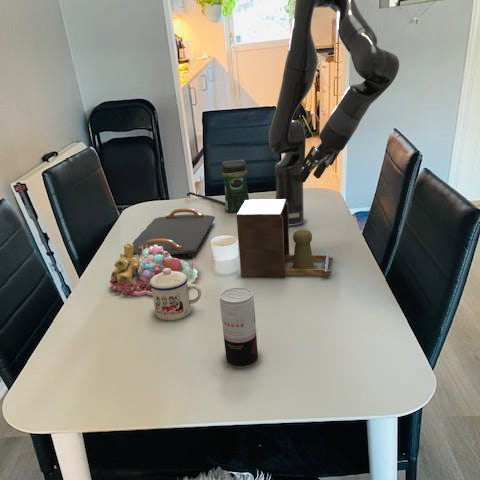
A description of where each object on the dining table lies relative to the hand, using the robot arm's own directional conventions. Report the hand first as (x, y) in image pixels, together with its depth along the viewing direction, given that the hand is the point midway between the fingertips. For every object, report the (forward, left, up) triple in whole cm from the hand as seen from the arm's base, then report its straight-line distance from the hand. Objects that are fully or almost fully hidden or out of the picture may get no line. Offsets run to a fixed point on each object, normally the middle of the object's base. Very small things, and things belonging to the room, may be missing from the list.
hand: (308, 178), depth 139 cm
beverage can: (+43, -41, -22) cm, 63 cm away
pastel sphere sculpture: (-7, -46, -22) cm, 52 cm away
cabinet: (+4, -16, -22) cm, 28 cm away
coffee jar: (-53, 0, -22) cm, 58 cm away
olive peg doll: (+10, -8, -22) cm, 25 cm away
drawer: (+10, -7, -22) cm, 25 cm away
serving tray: (-35, -32, -22) cm, 52 cm away
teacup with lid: (+16, -46, -22) cm, 54 cm away
